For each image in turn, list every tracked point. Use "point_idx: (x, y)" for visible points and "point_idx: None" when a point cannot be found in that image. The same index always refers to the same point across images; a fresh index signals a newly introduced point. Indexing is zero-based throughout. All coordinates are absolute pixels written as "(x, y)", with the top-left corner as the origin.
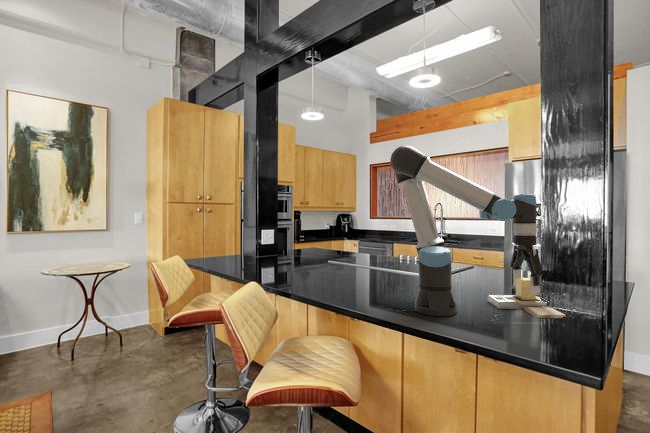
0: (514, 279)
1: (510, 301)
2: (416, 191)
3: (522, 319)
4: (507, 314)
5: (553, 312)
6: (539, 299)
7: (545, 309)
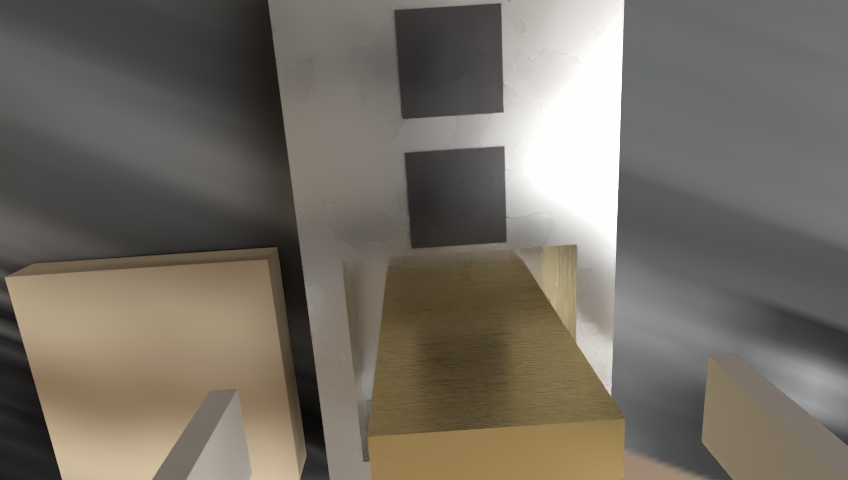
0: (770, 416)
1: (304, 143)
2: None
3: (10, 132)
4: (152, 44)
5: (127, 438)
6: None
7: None
